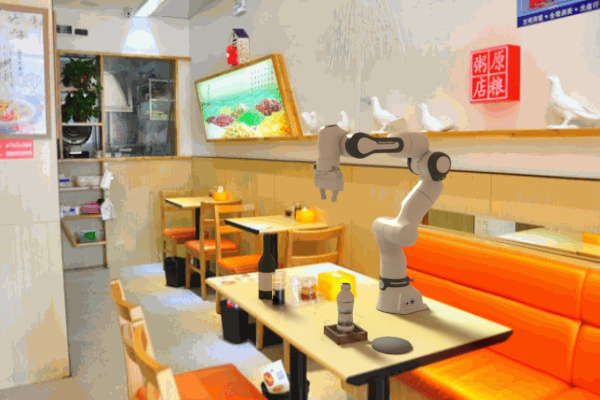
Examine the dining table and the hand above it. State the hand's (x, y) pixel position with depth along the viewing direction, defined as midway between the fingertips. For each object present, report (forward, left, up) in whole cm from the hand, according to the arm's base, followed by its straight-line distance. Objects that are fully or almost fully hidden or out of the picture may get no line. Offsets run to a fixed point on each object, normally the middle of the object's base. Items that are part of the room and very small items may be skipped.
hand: (328, 200), depth 214 cm
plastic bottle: (+3, +22, -48) cm, 53 cm away
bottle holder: (+3, +22, -48) cm, 53 cm away
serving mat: (-8, +36, -48) cm, 60 cm away
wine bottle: (+14, -35, -48) cm, 61 cm away
